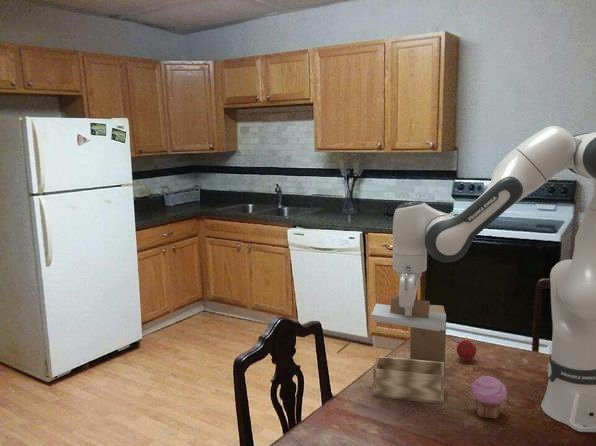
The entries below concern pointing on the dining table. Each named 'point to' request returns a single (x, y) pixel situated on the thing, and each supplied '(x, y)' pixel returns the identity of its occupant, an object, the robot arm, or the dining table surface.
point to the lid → (418, 319)
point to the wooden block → (428, 341)
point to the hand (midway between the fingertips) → (409, 312)
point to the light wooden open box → (409, 379)
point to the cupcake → (488, 396)
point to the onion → (466, 350)
